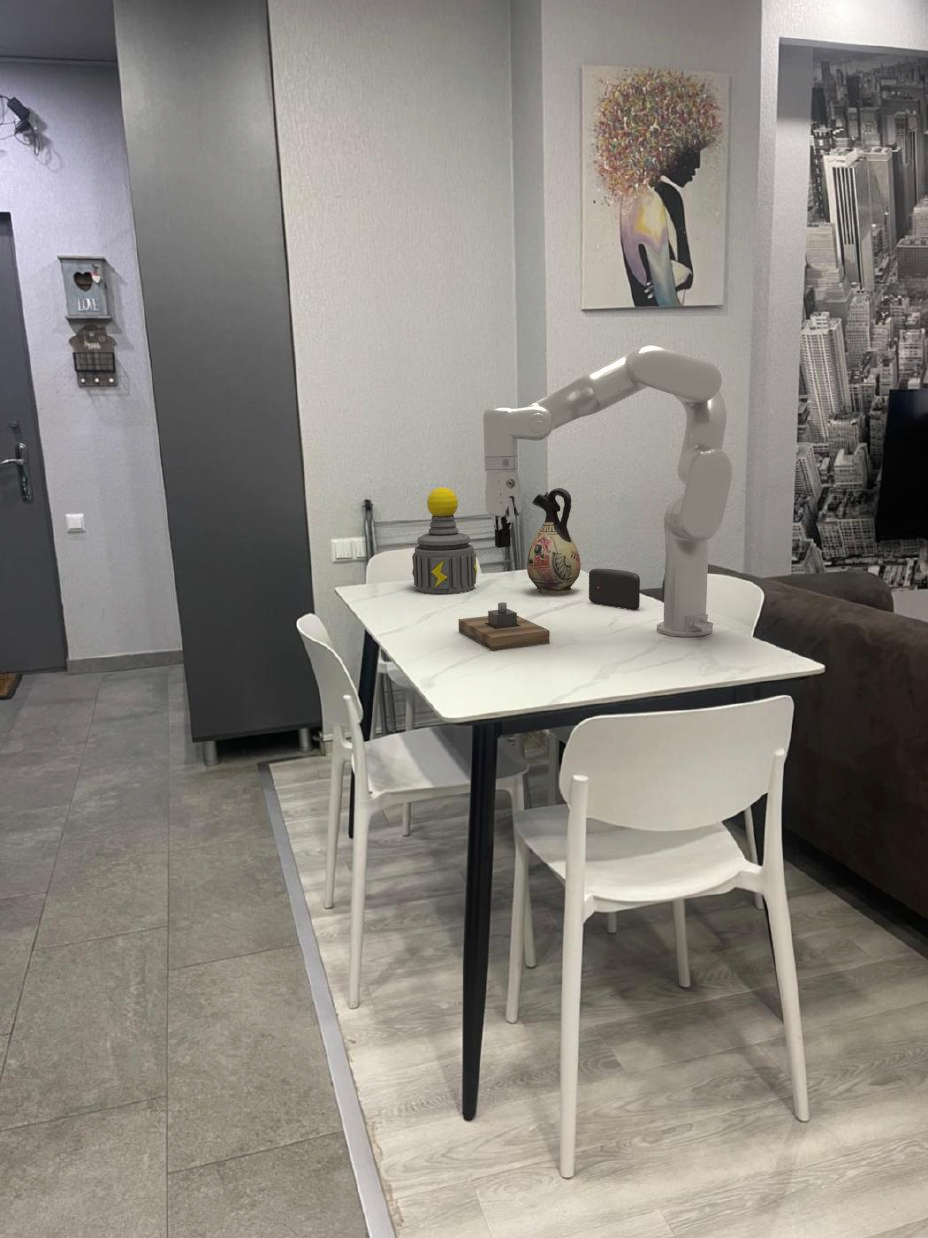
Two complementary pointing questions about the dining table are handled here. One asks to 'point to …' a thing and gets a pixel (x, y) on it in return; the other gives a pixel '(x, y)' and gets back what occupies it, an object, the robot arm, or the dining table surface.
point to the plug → (502, 617)
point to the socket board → (504, 633)
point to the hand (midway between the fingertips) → (502, 546)
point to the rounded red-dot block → (614, 588)
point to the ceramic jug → (553, 548)
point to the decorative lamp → (444, 550)
